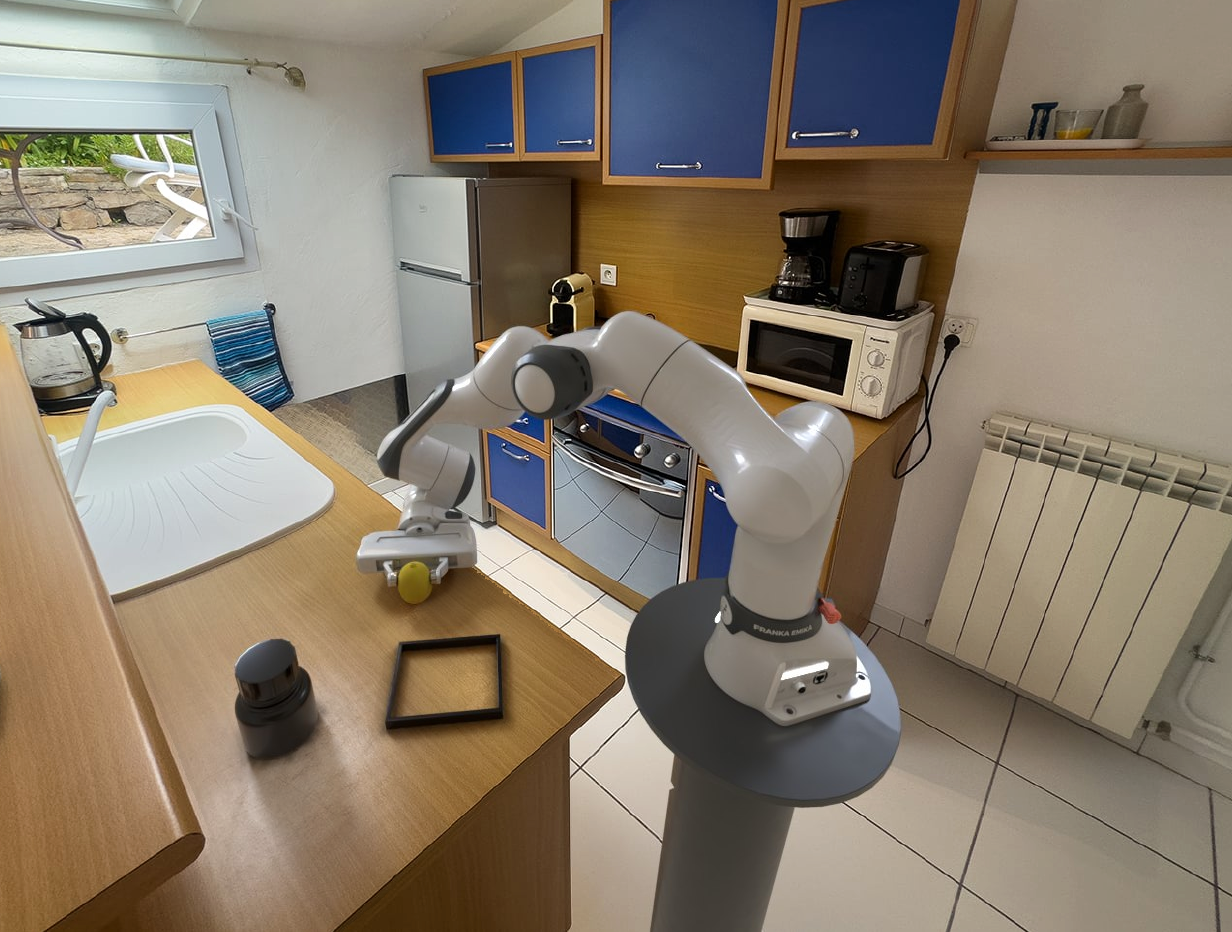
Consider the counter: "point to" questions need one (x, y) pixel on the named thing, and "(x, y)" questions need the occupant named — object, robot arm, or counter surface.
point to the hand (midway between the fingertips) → (413, 582)
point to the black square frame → (447, 716)
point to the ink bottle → (273, 700)
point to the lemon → (414, 582)
